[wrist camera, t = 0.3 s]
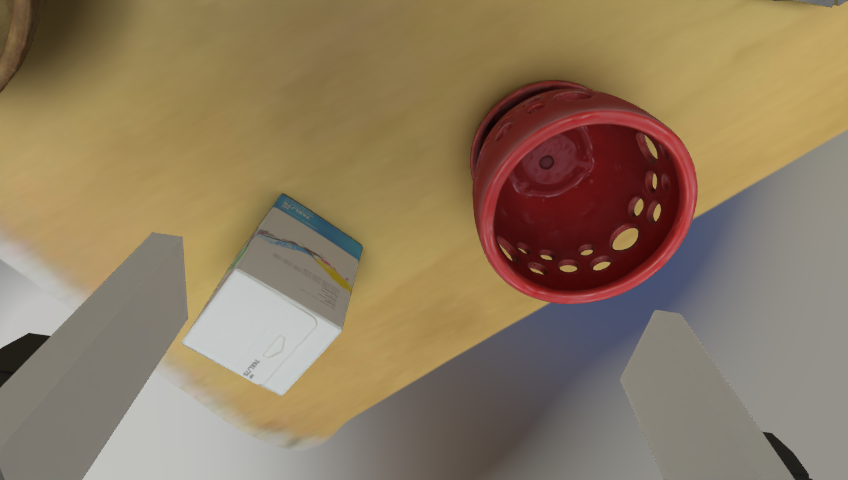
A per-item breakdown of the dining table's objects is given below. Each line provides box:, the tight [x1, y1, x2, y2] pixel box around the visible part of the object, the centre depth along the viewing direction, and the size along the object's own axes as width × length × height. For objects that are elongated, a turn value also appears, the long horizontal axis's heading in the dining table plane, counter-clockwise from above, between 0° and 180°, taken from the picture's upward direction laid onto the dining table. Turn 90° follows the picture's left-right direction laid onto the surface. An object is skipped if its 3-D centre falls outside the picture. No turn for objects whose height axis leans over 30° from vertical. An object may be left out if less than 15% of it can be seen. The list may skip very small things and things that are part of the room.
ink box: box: [182, 194, 363, 396], centre depth 40 cm, size 8×8×12 cm
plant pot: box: [470, 80, 697, 304], centre depth 35 cm, size 13×13×12 cm
